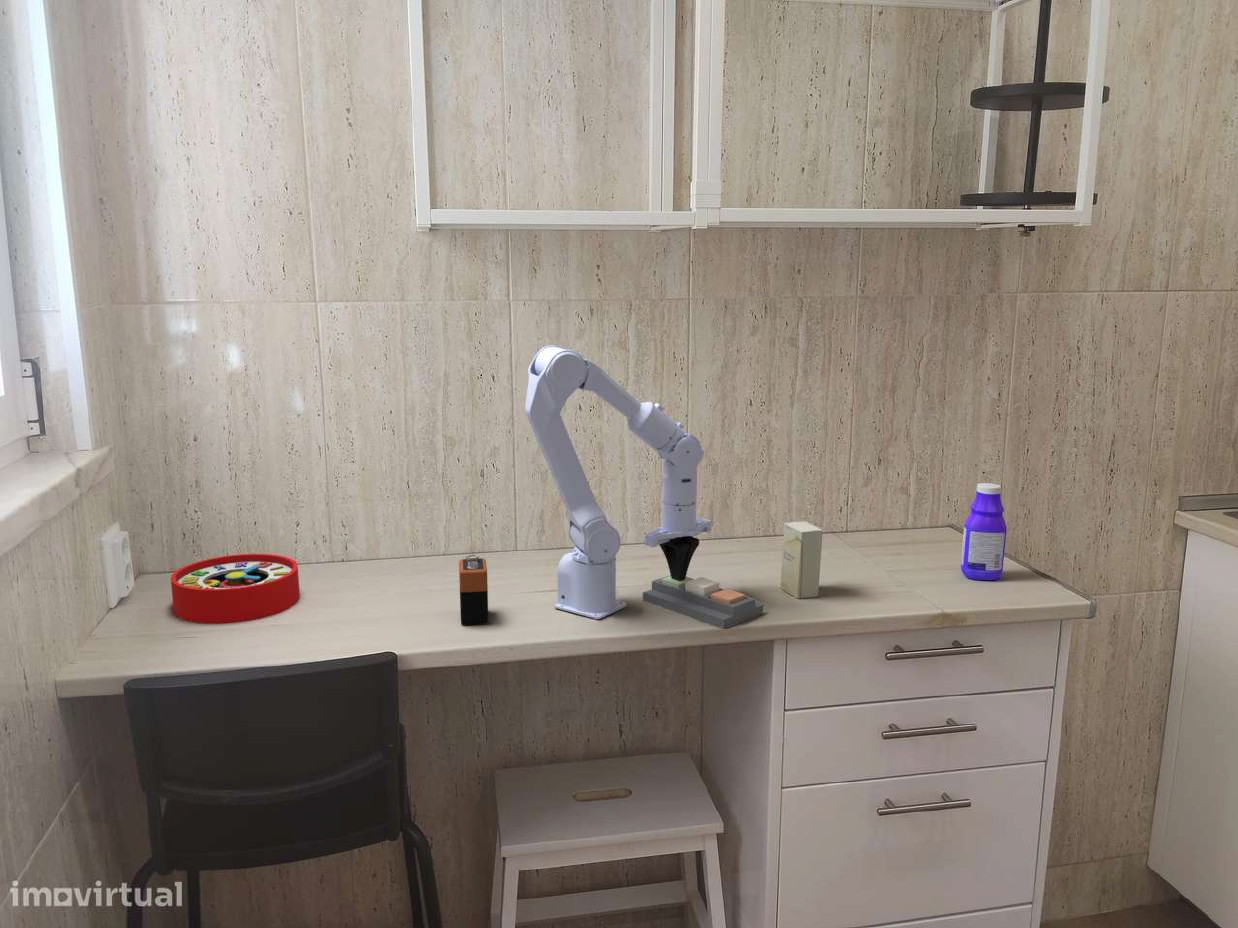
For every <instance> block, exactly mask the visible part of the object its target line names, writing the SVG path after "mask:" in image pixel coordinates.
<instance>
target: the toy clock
mask: <svg viewBox="0 0 1238 928" xmlns="http://www.w3.org/2000/svg"><path fill="white" fill-rule="evenodd" d="M298 569H299V564H298V563H297V561H296V560H295V559H293V558H291V557H289V556H288V557H287V556H284V555H278V554H269V553H241V554H231V555H222V556H217V557H211V558H208V559H203V560H200V561H196V562H192V563H189V564H187V565H185V566H183V567H180V568H179V569H177V570H176V571H174V572H173V573H172V574H171V577H170V582H171V583H170V585H171V586H170V587H171V596H172V597H171V598H172V609H173V614H174V615H175V616H176V617H177V618H179V619H181V620H183V621H186V622H191V623H195V624H206V625H207V624H210V625H212V624H213V625H217V624H218V625H220V624H221V625H222V624H236V623H244V622H250V621H251V622H252V621H256V620H261V619H265V618H268V617H272V616H275V615H277V614H280V613H283V612H285V611H288V610H289V609H291V608H292V607H294V606H295V605H297V603H298V602H299V601H300V598H301V597H300V596H301V595H300V580H299V570H298Z"/></svg>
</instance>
